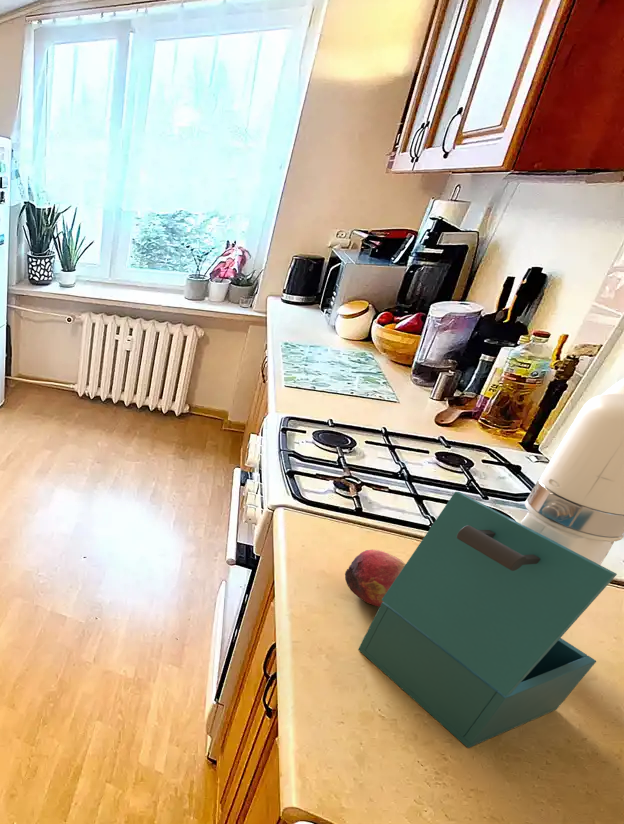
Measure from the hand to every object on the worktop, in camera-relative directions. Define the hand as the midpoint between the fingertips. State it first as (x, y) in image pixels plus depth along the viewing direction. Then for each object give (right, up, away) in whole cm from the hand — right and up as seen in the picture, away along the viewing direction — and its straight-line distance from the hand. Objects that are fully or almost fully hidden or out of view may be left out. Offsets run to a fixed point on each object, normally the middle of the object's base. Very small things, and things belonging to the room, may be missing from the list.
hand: (499, 626), depth 63 cm
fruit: (-5, -2, +15) cm, 16 cm away
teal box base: (-3, -8, +3) cm, 9 cm away
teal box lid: (-8, +7, -6) cm, 13 cm away
